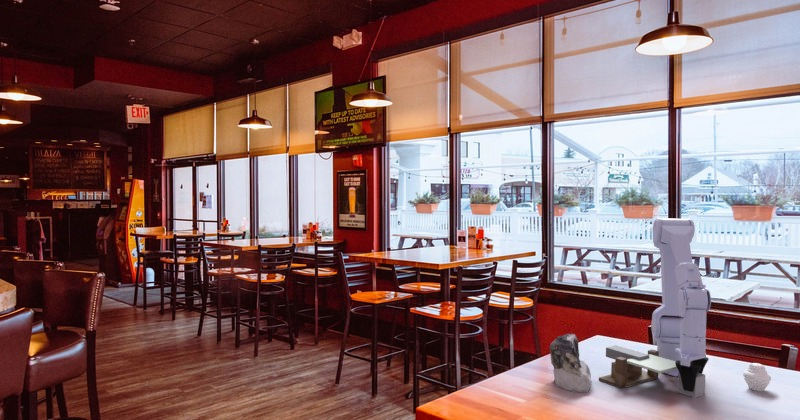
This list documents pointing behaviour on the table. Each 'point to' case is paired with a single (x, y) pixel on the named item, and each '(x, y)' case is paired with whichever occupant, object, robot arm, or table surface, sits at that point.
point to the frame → (628, 373)
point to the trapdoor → (641, 359)
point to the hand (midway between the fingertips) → (691, 387)
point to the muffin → (756, 377)
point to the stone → (569, 364)
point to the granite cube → (698, 388)
